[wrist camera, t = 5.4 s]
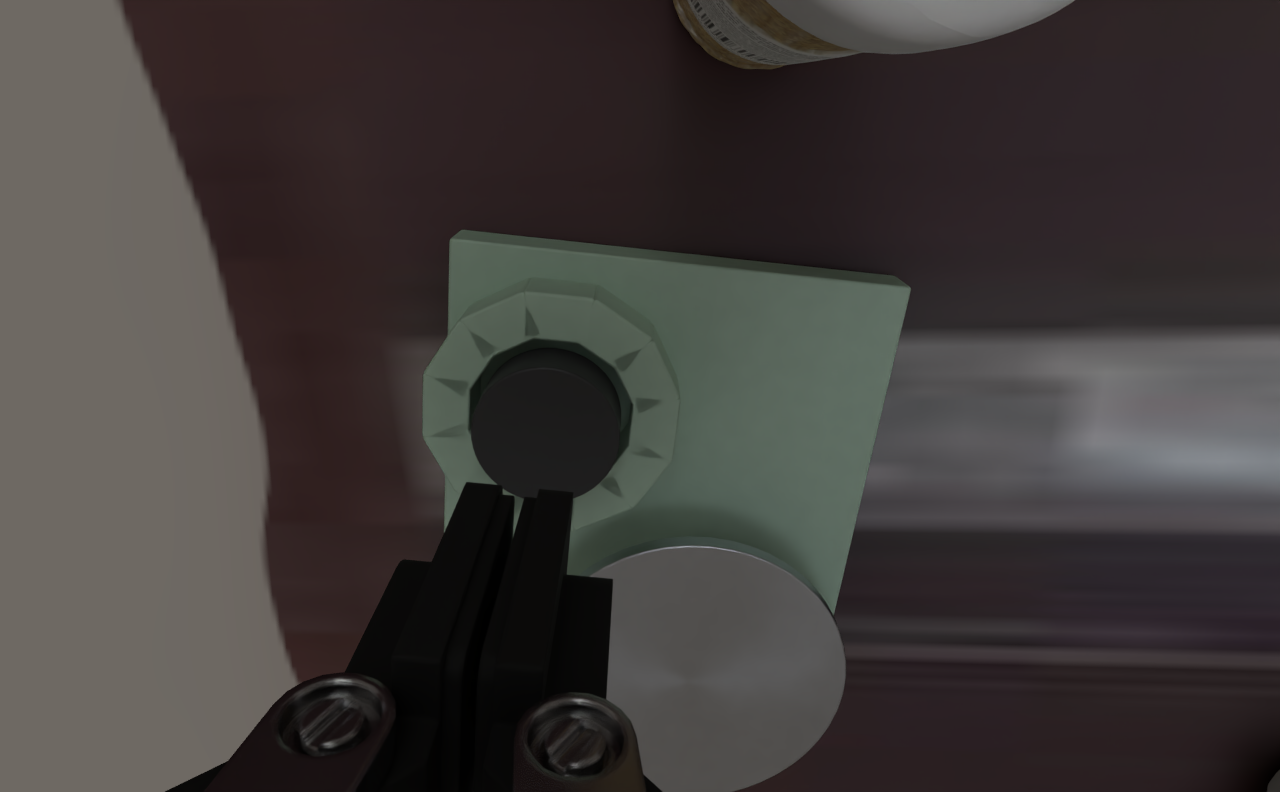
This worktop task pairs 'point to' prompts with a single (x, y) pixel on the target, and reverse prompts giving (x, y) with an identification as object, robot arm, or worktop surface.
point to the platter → (719, 661)
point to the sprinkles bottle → (848, 26)
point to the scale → (684, 388)
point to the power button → (547, 424)
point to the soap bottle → (1274, 783)
